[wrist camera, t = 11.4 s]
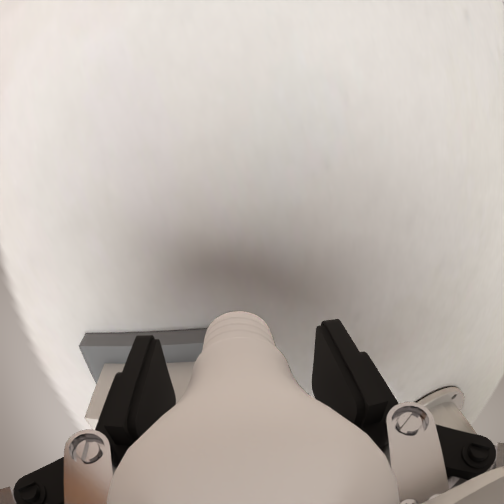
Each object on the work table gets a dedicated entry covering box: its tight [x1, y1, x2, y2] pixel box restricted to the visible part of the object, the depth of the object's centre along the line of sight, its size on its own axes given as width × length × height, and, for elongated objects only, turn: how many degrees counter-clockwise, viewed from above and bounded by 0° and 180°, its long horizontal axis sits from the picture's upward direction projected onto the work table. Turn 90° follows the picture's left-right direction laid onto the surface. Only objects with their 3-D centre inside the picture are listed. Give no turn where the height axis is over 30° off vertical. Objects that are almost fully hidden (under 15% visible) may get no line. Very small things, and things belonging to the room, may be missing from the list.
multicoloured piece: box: [79, 329, 207, 430], centre depth 20 cm, size 24×12×7 cm, turn 3°
